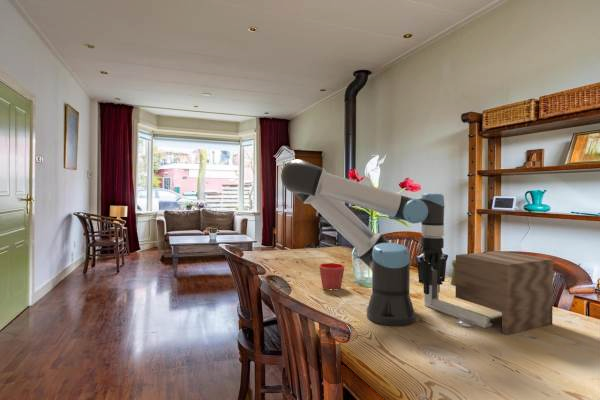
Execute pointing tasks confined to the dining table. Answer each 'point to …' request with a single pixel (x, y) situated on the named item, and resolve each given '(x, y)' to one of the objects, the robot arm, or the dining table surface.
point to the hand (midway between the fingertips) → (431, 302)
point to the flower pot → (331, 275)
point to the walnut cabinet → (508, 287)
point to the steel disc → (465, 323)
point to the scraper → (455, 307)
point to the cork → (453, 280)
